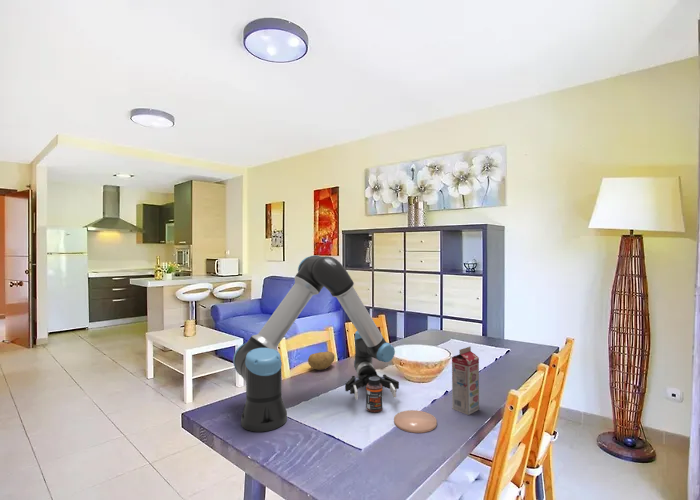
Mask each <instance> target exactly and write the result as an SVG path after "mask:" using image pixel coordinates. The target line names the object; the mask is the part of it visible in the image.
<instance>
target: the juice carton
mask: <svg viewBox="0 0 700 500" xmlns="http://www.w3.org/2000/svg"><path fill="white" fill-rule="evenodd" d="M471 348H472V347H471V346H468V347H467V346H466V347H464V348H461V349H459V353H458V354H457V355H454V356H452V357H451V389H452V390H451V397H452V401H451V402H452V403H451V404H452V406H451V408H452V410H453V411H456V412H460V413H462V414H465V415H468V416H470V415H471V414H474V413H475V412H477V411H479V410H480V364H479V363H480V357H479V356H478V355H477V354H476V353H474V352H473V351H472V349H471Z"/></svg>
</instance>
